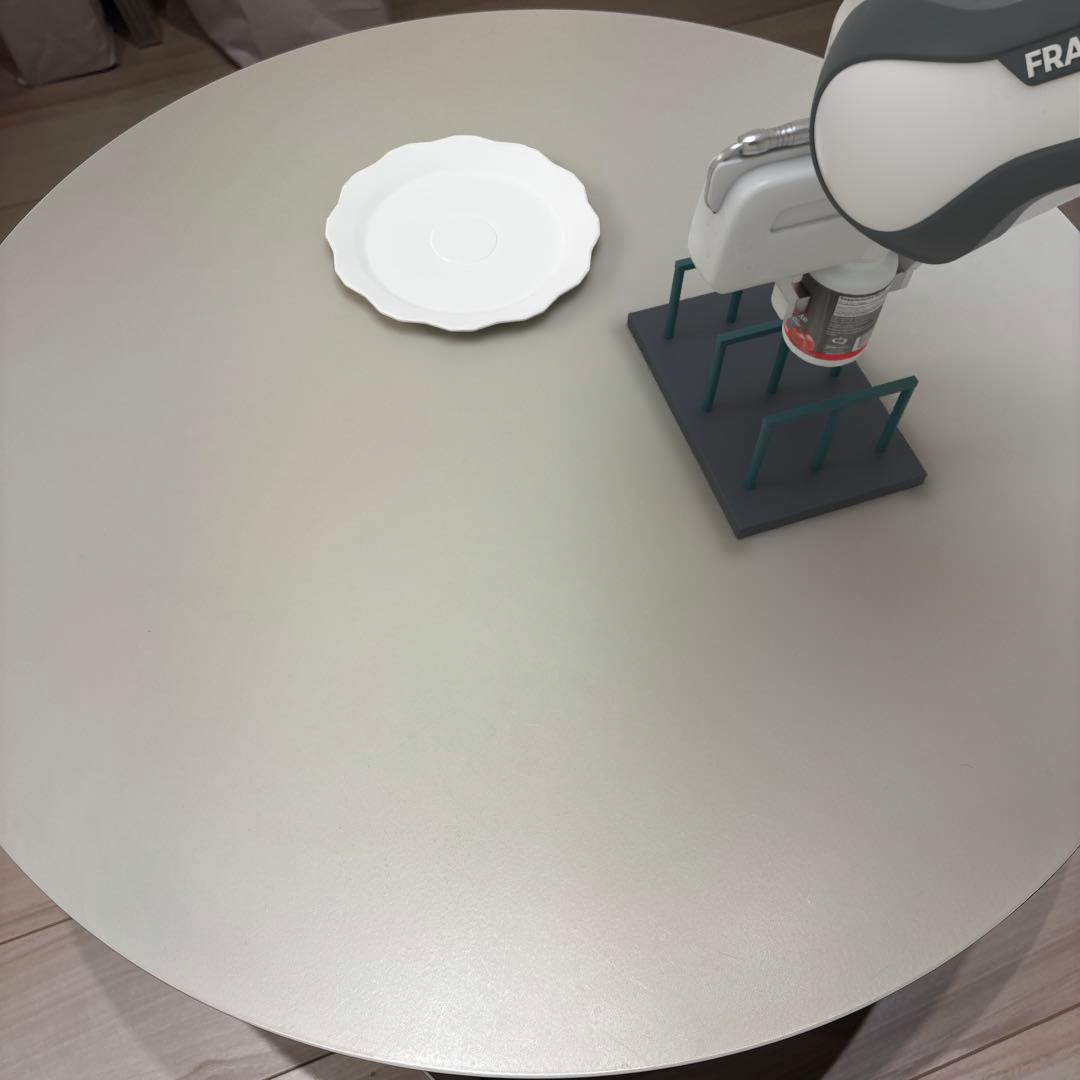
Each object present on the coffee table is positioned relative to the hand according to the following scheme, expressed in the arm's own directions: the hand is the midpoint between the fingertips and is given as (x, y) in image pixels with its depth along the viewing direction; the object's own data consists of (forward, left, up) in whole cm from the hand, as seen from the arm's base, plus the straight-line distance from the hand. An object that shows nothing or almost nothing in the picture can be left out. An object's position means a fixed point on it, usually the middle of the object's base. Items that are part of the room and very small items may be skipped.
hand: (838, 296), depth 68 cm
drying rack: (+4, 0, -14) cm, 15 cm away
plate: (+26, +16, -14) cm, 33 cm away
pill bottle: (0, 0, -4) cm, 4 cm away
